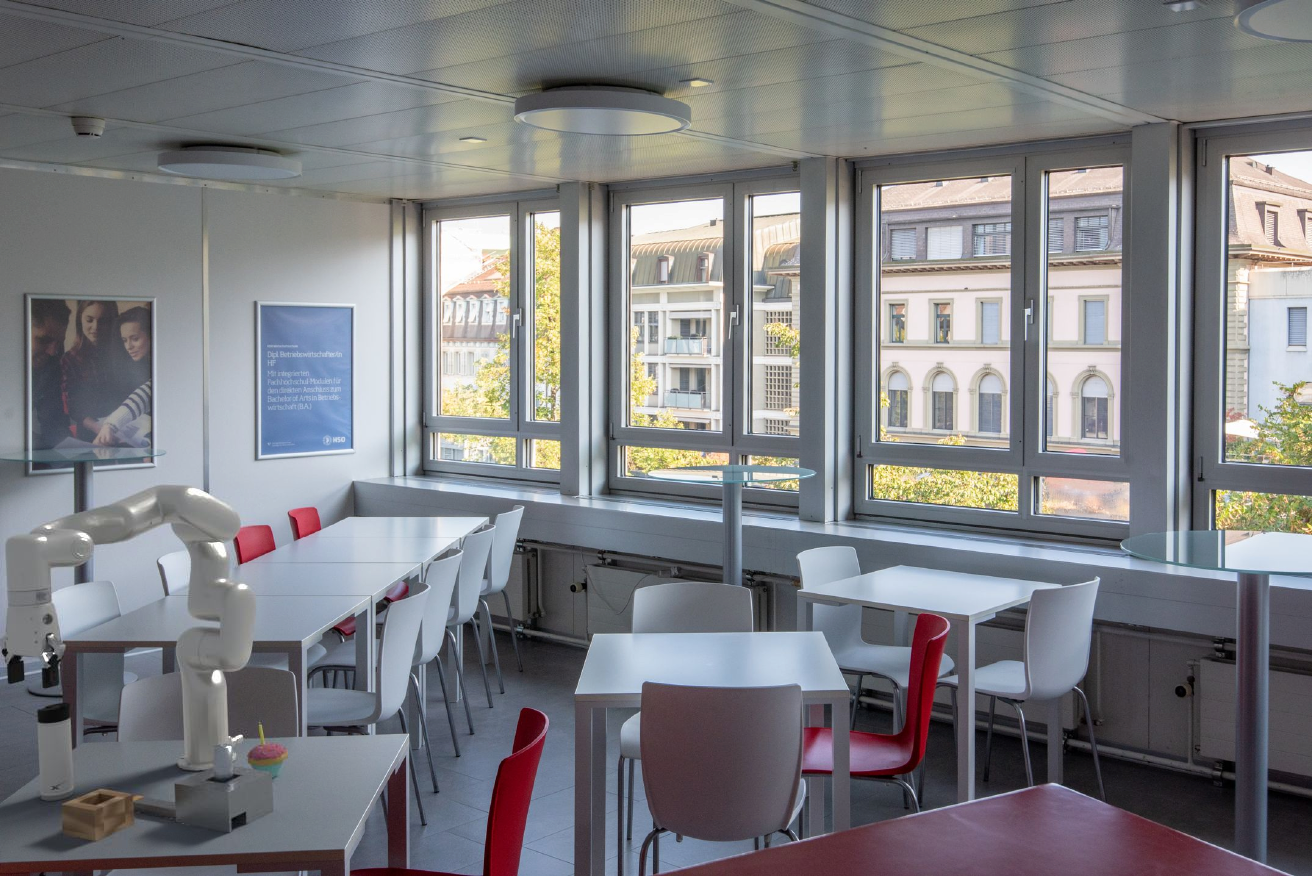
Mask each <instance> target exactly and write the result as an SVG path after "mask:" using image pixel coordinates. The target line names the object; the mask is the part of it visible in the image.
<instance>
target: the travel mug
mask: <svg viewBox="0 0 1312 876" xmlns="http://www.w3.org/2000/svg"><path fill="white" fill-rule="evenodd" d="M70 707H71V704H70V702H59V703H54V704H50V705H47V706H44V707H43V708H38V709H37V710H36V715H37V716H36V717H37V722H36V723H37V740H38V741H37V742H38V762H39V763H38V765H39V766H38V767H39V785H40V786H39V787H40V799H41V800H42V801H45V802H46V801H47V802H55V801H60V800H64V799H68V798H70V797H72V795H73V794H74V791H75V790H74V770H73V769H74V766H73V746H72V745H73V744H72V742H73V741H72V724H71V723H72V722H71V709H70Z"/></svg>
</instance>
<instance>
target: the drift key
mask: <svg viewBox="0 0 1312 876" xmlns="http://www.w3.org/2000/svg"><path fill="white" fill-rule="evenodd" d="M133 807H134V813H138V812H140V813H139V814H143V813H144V815H148V814H150V816H154V815H157V816H156V817H159V816H161V817H160V818H165V817H167V818H166V819H170V818H172V820H176V808H175V801H170V800H164V799H163V800H162V799H159V798H152V797H146V796H144V795H135V796H133Z"/></svg>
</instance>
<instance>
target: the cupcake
mask: <svg viewBox="0 0 1312 876" xmlns="http://www.w3.org/2000/svg"><path fill="white" fill-rule="evenodd" d="M258 731H259V737H260V742H261V744H258V745H256V746H255V747H253V748H251V749H250V751H249V752H248V753H247V755H246V758H247V763H248V764H249V765H250V766H251V769H254V770H261V771H267V772H272V779H274V778H276V777H278V776H279V775H280V772H281V771H280V770H281V767H282V765H283V762H284V761H285V760H286V759H287V758H288V757H289V754H288V749H287V748H286V747H284V746H283V745H281V744H279V743H274V742H273V743H271V742H269V743H268V742H267V743H266V742H265V737H264V732H263V726H262V724H261V722H260V721H258Z"/></svg>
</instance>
